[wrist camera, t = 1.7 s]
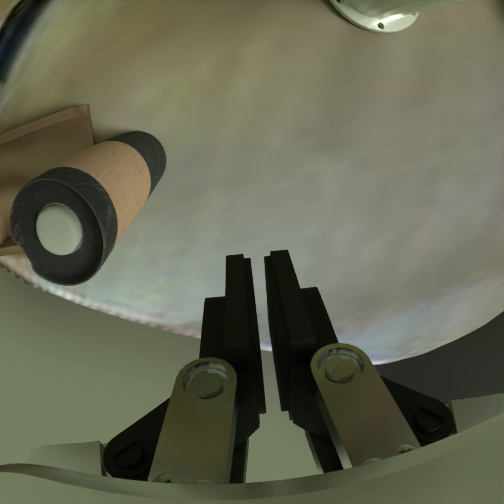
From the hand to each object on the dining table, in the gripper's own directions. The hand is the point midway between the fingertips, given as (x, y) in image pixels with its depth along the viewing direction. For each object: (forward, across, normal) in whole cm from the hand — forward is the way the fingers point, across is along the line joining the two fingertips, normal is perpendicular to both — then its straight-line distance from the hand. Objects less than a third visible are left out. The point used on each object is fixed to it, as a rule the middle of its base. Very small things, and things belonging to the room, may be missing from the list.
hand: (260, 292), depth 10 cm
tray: (+27, +27, 0) cm, 38 cm away
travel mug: (+27, +12, 0) cm, 30 cm away
